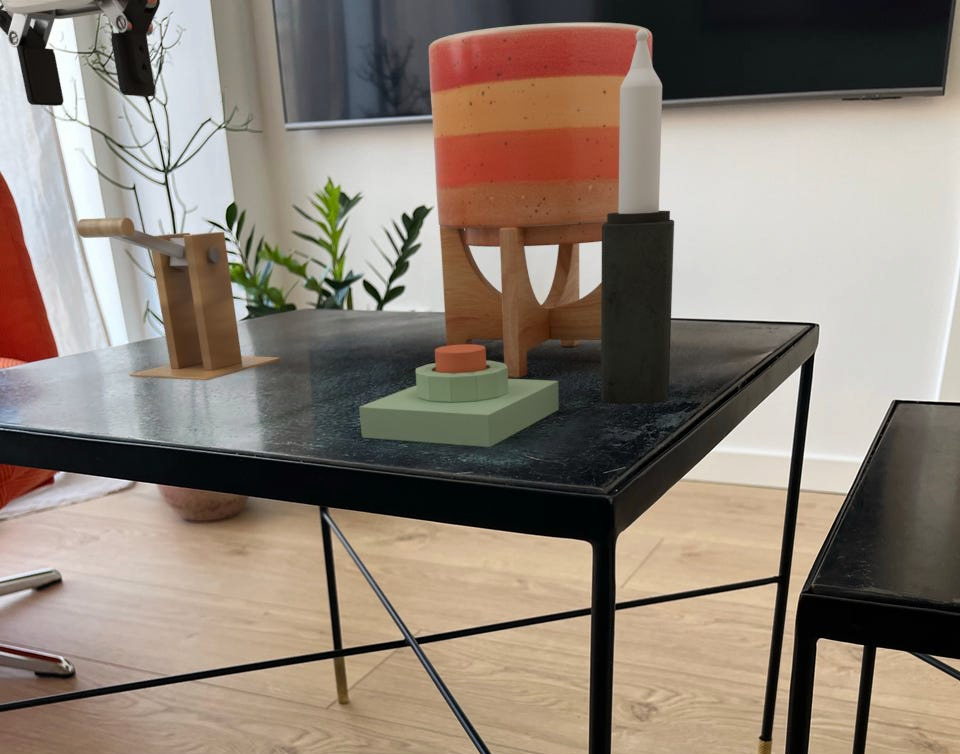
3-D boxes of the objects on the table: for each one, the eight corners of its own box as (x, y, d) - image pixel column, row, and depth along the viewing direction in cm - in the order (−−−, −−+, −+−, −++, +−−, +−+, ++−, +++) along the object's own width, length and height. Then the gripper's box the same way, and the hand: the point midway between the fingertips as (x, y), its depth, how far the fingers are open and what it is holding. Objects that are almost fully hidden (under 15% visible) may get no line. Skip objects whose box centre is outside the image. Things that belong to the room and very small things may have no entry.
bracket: (207, 391, 90) (183, 237, 85) (131, 387, 94) (104, 239, 89) (281, 370, 99) (264, 229, 94) (209, 366, 103) (189, 231, 98)
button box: (489, 447, 67) (487, 386, 65) (361, 438, 71) (356, 380, 69) (558, 410, 77) (558, 356, 75) (442, 403, 81) (439, 352, 79)
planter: (623, 381, 86) (627, 12, 75) (409, 376, 93) (384, 37, 81) (667, 344, 103) (677, 39, 92) (484, 342, 109) (472, 58, 98)
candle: (605, 390, 82) (608, 36, 72) (669, 390, 81) (681, 30, 71) (599, 403, 78) (601, 27, 68) (666, 403, 77) (678, 21, 67)
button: (472, 379, 70) (471, 353, 69) (427, 376, 72) (425, 351, 71) (494, 369, 73) (494, 344, 72) (450, 368, 75) (449, 343, 74)
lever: (121, 240, 82) (122, 209, 81) (76, 241, 84) (76, 210, 83) (221, 272, 92) (222, 244, 92) (179, 272, 94) (179, 245, 94)
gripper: (-85, -162, 73) (-26, 106, 80) (93, -210, 66) (141, 89, 73) (0, -138, 79) (49, 109, 86) (172, -180, 72) (209, 94, 79)
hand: (91, 100), depth 79 cm, fingers open, 9 cm apart
